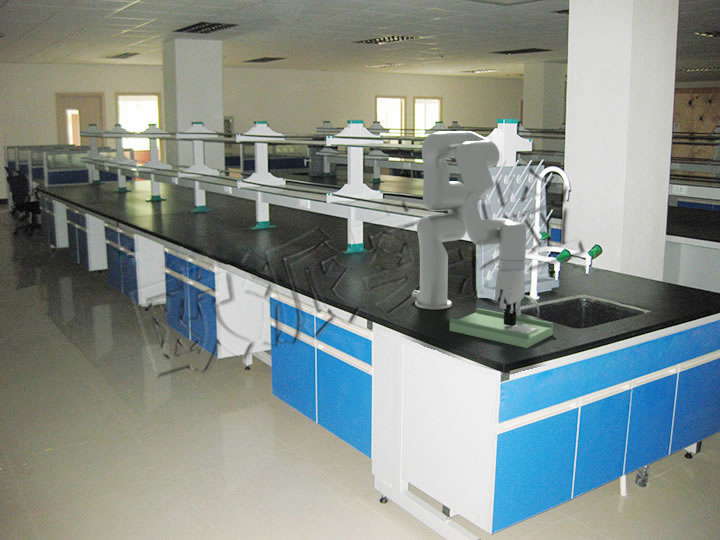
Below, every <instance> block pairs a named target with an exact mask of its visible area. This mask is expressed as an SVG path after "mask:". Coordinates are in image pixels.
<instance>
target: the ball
mask: <svg viewBox="0 0 720 540" xmlns="http://www.w3.org/2000/svg"><path fill="white" fill-rule="evenodd" d="M517 331H519V332H528V331H531V328H530V326H528V325H527V324H521V325H520V326H519V327H518V329H517Z"/></svg>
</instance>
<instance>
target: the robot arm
mask: <svg viewBox="0 0 720 540" xmlns="http://www.w3.org/2000/svg"><path fill="white" fill-rule="evenodd" d="M449 158H450V159H455V163H456V166H457V168H458V171H459V173H460V176H461V178H462V182H460V181H455V180H454V181H450V175H451V173H450V167H449V164H448V162H447V160H446V159H449ZM421 159H422V163H423V164H422V165H423V185H422V186H423V187H422V203H423V207H424V208H425V209H426V210H428V211H433V212H438V211H439V212H440V211H448V212H447V213H436V214H428V215H425V216H423V217H422V218H420V219H419V220H418V222H417V225H416V232H417V236H418V244H419V290H417V289H414V290H413V291H412V292H411V296H412V297H414V298H416V300H415V302H414V304H415V306H416V308H420V309H423V310H433V311H435V310H445V309H449V308H451V307H452V304H453V303H452V301H451V300H449V299H448V282H449V281H448V276H449V275H448V273H449V269H448V268H449V266H448V265H449V264H448V263H449V256H448V251H447V250H446V248H445V246H444V244H443V243H446V242H453V241H459V240H461V239H463V238H464V237H465V235H466V234H467V236H468V238H469V239H470V241H471V242H472V243H473V244H475V245H476V246H487V245H497V244H498V245H499V246H498V247H499V250H498V252H499V253H498V269H497V275H496V280H495V289H494V291H495V292H494V302H495V303H499V309H502V311H503V312H502V313H504V324H505V325H509V326H514V325H516V312H517V308H518V304H519V303H520V304H521V302H522V301H523V299H524V297H525V292H526V291H525V290H526V288H525V286H526V284H525V283H526V277H525V270H526V251H527V250H526V249H527V226H526V223H524V222H521V221H513V220H511V219H510V218H505V217H501V218H500V217H497V218H487V219H482V217H481V214H480V212H479V207H478V205H479V204H478V202H479V200H480V199H481V198H482V197H483V196H485V195H487V194H488V193H490V192H491V191H492V190H493V188H494V186H495V183H494V180H493V177H492V175H491V172H490V168H494V167H495V166H496V165H498V163H499V161H500V150H499V148H498V146H497V145H496V144H495V143H494V142H493V141H492V140H490V139H489V138H486V137H484V136H482V135H480V134H478V133H476V132H473V131H470V130H468V131H467V130H456V131H452V130H451V131H450V130H449V131H447V130H446V131H444V130H443V131H435V132H433V133H430V134H428V135H427V136H426V137H425V138H424V140H423V142H422V146H421Z"/></svg>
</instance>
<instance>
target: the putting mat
mask: <svg viewBox="0 0 720 540" xmlns="http://www.w3.org/2000/svg"><path fill="white" fill-rule="evenodd" d="M475 311H476V312H473V313H471V314H469V315H466V316H463V317H461V318H459V319H457V318H449V331H450V332H455V333H459V334H462V333H463V334H464V335H468V336H473V337H477V338H481V339H485V340H489V341H493V342H498V343H502V344H503V343H504V344H508V345H512V346H517V347H519V348H520V347H521V348H525V349H527V348H529V347H531V346H533V345H536V344H537V343H539V342H541V341H543V340H545V339H547V338H549V337H551V336H553V334H554V333H553V332H554V322H552V321H551V322H550V321H547V320H542V319H540V320H539V319H536V318H530V317H525V316H521V315H520V316H516V325H514V326H509V325H505V324H504V312H499V311H495V310H489V309H485V308H479V307H477V308H476V310H475ZM521 324H527V325H528V326H530V328H531V331H528V332H519V331H517V329H518V327H519V326H520V325H521Z"/></svg>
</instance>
